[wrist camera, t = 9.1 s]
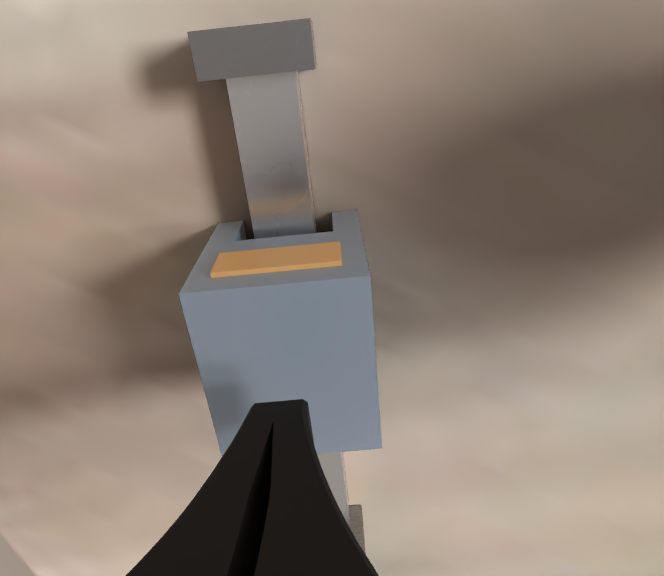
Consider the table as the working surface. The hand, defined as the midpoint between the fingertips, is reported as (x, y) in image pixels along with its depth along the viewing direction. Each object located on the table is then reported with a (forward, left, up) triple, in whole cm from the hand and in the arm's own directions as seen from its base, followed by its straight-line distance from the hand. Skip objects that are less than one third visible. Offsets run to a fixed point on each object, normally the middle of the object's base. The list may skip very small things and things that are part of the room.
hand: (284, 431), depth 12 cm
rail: (0, +2, -7) cm, 8 cm away
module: (0, 0, -7) cm, 7 cm away
